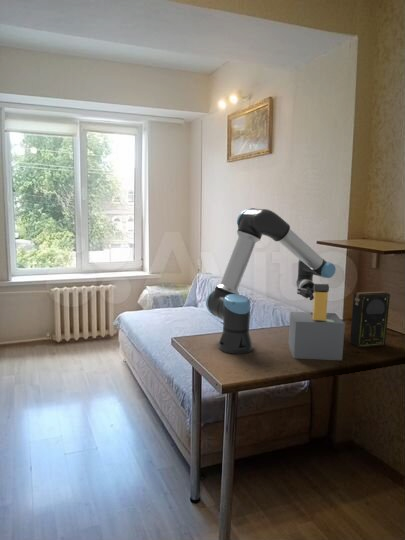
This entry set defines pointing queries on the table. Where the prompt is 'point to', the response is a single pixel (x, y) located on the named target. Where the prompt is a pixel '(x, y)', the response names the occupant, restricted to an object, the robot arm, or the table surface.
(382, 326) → the voltmeter
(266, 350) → the table surface
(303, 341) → the box
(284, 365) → the table surface
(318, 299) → the yellow tall block
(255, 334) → the table surface
